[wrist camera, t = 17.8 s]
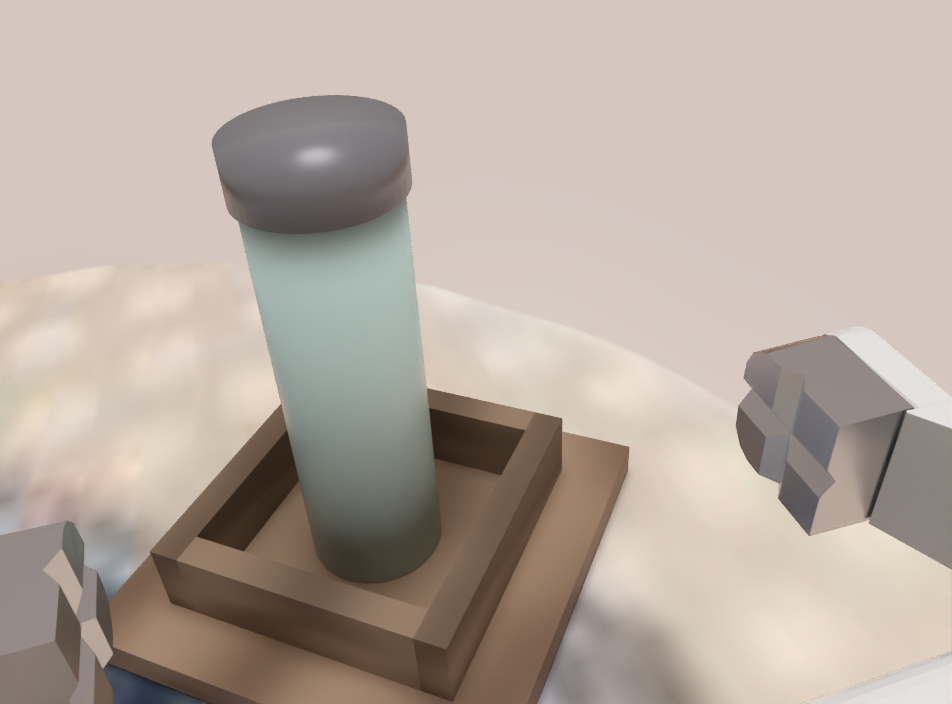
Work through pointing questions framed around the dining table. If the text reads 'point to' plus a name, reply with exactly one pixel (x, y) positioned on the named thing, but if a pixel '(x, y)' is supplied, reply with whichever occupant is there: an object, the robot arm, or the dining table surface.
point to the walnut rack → (386, 603)
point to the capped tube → (340, 320)
